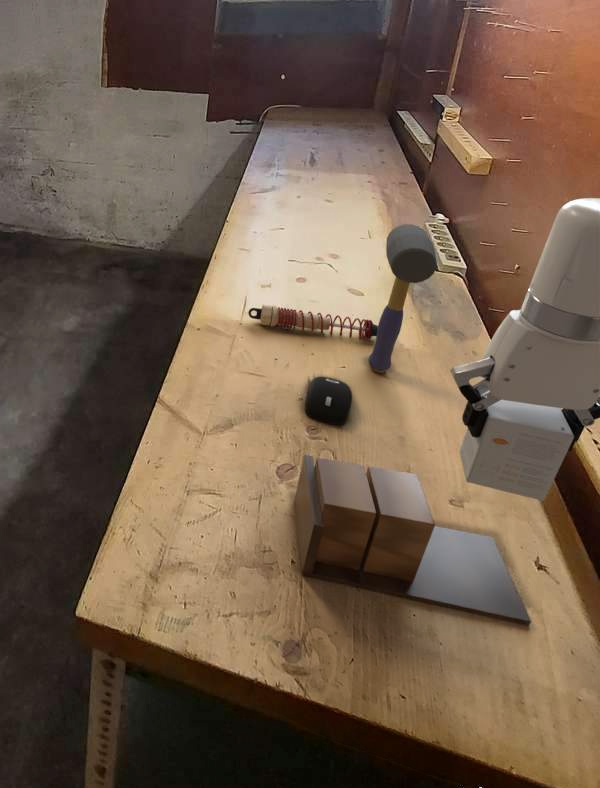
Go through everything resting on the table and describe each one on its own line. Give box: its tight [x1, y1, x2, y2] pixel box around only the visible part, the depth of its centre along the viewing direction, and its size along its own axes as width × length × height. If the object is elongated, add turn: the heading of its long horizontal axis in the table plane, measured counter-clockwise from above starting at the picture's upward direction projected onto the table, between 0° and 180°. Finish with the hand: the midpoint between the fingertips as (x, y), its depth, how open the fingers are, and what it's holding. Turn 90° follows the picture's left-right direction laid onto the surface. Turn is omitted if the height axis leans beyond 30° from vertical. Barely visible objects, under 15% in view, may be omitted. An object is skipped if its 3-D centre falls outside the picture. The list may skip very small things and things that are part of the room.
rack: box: [293, 454, 532, 626], centre depth 74 cm, size 26×12×12 cm, turn 74°
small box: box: [459, 391, 574, 502], centre depth 68 cm, size 8×6×10 cm
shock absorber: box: [247, 304, 378, 341], centre depth 125 cm, size 5×5×30 cm
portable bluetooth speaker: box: [304, 376, 353, 426], centre depth 104 cm, size 8×12×4 cm, turn 150°
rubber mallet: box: [367, 223, 438, 374], centre depth 107 cm, size 12×8×30 cm, turn 156°
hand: (514, 435), depth 68 cm, fingers closed on small box, 8 cm apart
